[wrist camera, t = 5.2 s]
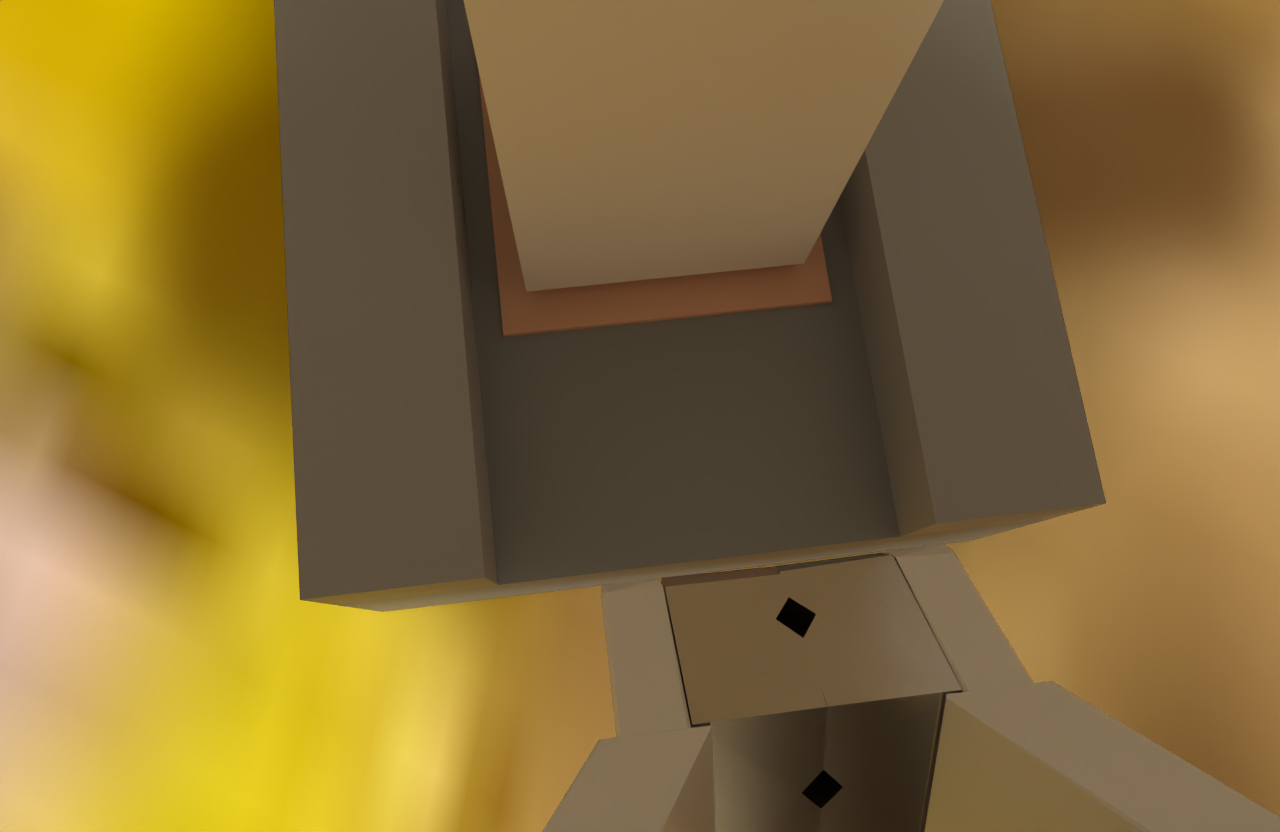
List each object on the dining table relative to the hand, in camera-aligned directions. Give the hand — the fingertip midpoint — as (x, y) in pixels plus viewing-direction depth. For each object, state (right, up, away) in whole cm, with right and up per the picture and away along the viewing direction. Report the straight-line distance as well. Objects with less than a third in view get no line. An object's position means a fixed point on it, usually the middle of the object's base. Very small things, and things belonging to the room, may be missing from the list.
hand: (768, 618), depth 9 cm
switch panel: (-2, +10, +10) cm, 14 cm away
